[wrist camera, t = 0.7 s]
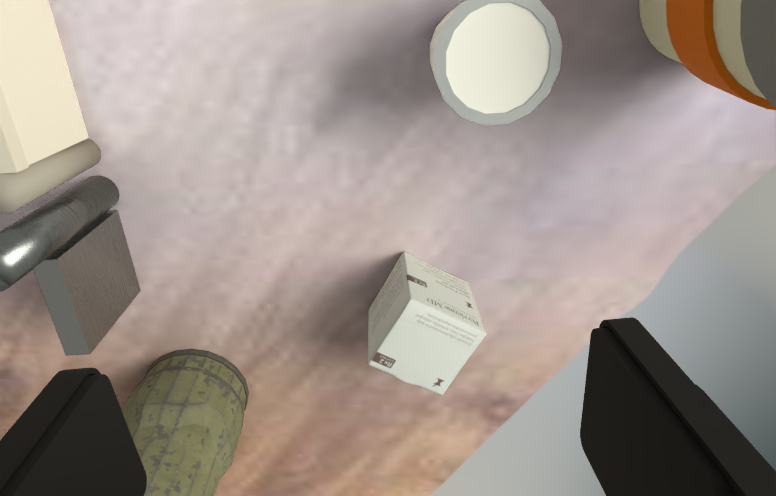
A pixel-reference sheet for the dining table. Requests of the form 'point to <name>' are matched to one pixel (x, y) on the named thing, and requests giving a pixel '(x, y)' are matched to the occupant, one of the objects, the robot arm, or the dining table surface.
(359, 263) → the dining table surface
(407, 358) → the skincare box
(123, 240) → the gate frame
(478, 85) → the white short cylinder
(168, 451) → the thermos
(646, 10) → the reusable coffee cup
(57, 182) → the gate
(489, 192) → the dining table surface
